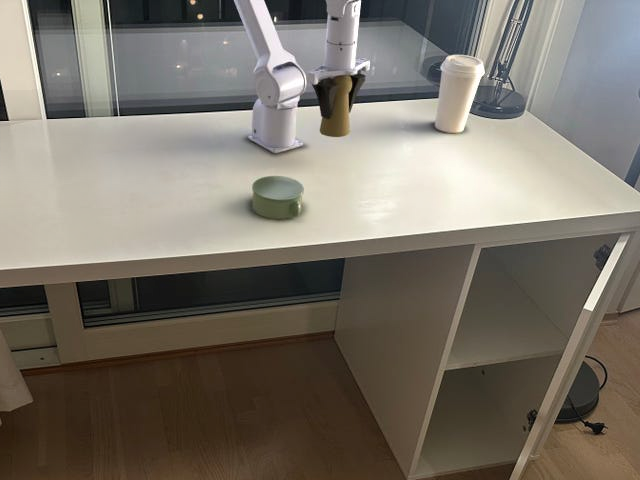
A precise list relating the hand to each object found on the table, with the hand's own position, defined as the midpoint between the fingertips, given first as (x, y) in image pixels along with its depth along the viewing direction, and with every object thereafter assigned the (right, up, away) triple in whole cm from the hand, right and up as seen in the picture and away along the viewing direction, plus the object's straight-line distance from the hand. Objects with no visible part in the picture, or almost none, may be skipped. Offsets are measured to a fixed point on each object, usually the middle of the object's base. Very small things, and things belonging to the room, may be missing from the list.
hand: (335, 114), depth 139 cm
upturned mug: (-12, -20, -8) cm, 25 cm away
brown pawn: (0, -3, +2) cm, 4 cm away
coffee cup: (+29, +5, +25) cm, 39 cm away
